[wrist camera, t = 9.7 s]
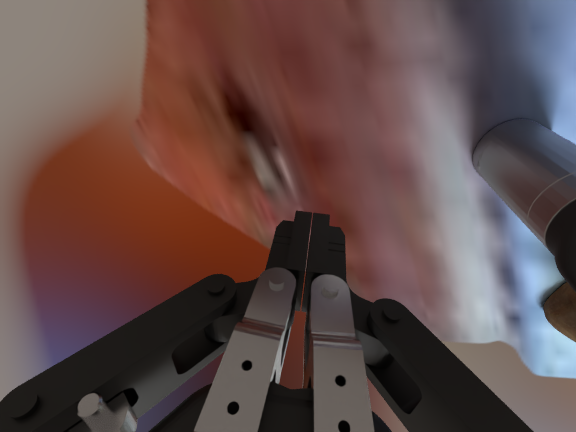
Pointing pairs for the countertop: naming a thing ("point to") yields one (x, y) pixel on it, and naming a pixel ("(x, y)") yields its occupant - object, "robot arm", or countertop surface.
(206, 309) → the robot arm
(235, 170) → the countertop surface
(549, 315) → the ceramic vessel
